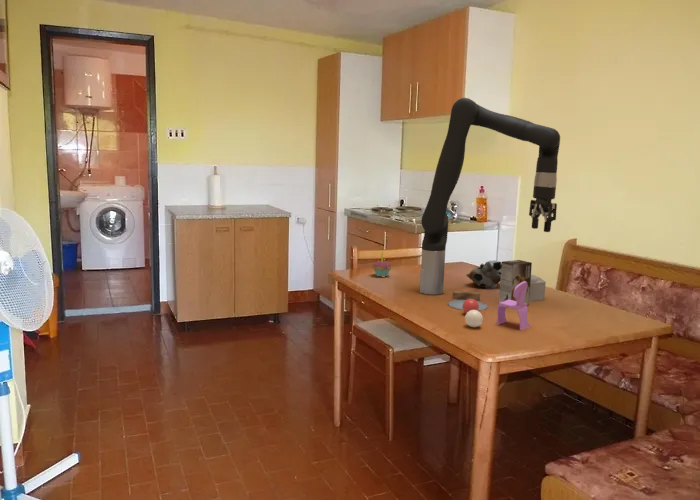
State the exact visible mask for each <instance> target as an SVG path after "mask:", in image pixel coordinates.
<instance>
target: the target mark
mask: <svg viewBox="0 0 700 500" xmlns="http://www.w3.org/2000/svg"><path fill="white" fill-rule="evenodd" d="M464 301H465V300H461V299H453V300H451V301H449V302H448V303H447V305H448V306H449V307H450V308H452V309H455V310H460V311H463V308H462V306H463V303H464ZM476 301H477V303H478V305H479V309H478V311H479V312H480V311H483V310H486V309H488V304H486V303H484V302H481V301H479V300H476Z"/></svg>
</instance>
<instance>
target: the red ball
mask: <svg viewBox="0 0 700 500" xmlns="http://www.w3.org/2000/svg"><path fill="white" fill-rule="evenodd" d="M477 301H478V300H474V299H467V300H465V301H464V303H463V306H462V308H463V310H462V311H463V312H464V313H465V315H466V314H467V312H468V311H470V310H477V311H478V309H479V305H478V303H477Z"/></svg>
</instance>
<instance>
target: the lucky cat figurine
mask: <svg viewBox="0 0 700 500" xmlns="http://www.w3.org/2000/svg"><path fill="white" fill-rule="evenodd" d="M501 264H502V261H499V260H495V259H494V260H489V261H486V262H485V263H481V264H480V266H479V267H476V268H474V269H472V270H471V271H470V272H469V273H468V274H466V277H468V278H469V279H470V280H471V281H472V282H473V283H474V284H475V285H476V286H479V287H482V288H483V289H484V290H491V289H496V288H497V286H498V283H500V280H501Z"/></svg>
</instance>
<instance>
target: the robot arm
mask: <svg viewBox="0 0 700 500" xmlns="http://www.w3.org/2000/svg"><path fill="white" fill-rule="evenodd" d="M451 107H452V108H451V111H450V118H449V123H448V128H447V134H446V137H445V140H444V142H443V146H442V148H441V151H440V155H439V157H438V161H437V164H436V169H435V172H434V176H433V182H432V185H431V186H432V187H431V191H430V195H429V199H428V201H427V202H426V203H427V204H426V205H425V206H426V207H425V209H424V212H423V213H422V216H421V226H422V228H423V230H424V232H423V233H424V234H423V239H422V242H421V258H420V259H421V261H420V280H419V294H425V295H442V294H443V293H444V287H445V286H444V283H445V281H444V280H445V264H446V246H447V242H448V233H449V217H448V214H447V209H448V203H449V202H450V201H449V200H450V198H451V196H452V194H453V192H454V190H455V188H456V185H457V184H458V181H459V178H460V176H461V173H462V170H463V165H464V162H465V160H464V159H465V155H466V154H465V153H466V143H467V137H468V134H469V131H470V128H471V126H476V127H477V126H478V127H482V128H486V129H490V130H493V131H495V132H497V133H500V134H502V135H505V136H507V137H510V138H513V139H517V140H519V141H523V142H529V143H531V144H533V145H535V146H538V157H537V159H536V166H535V168H536V169H535V175H534V181H533V191H532V197H533V199H531V200H530V203H529V211H528V216H529V217H531V218H532V220H531V229H534V230H535V229H539V221H540V219H539V218H540V216H541V215H542V217H543V218H544V223H543V224H544V225H543V232H544V233H551V229H552V222H553V221H556V220H557V209H558V208H557V207H558V205H557V204H558V203H555V202H554V203H553V202H552V200H555V199H556V190H557V182H558V181H557V178H558V177H557V176H558V175H557V174H558V173H557V172H558V157H559V156H558V155H559V150H560V144H561V143H560V142H561V135H560V132H559V131H558V130H556V128H552V127H549V126H545V125H541V124H537V123H533V122H532V121H529V120H526V119H524V118H520V117H516V116H513V115H508V114H504V113H499V112H495V111H493V110H490V109H488V108H485V107H483V106H481V105H480V104H477V103H476V101H474V100H473V99H470V98H469V97H461V98H459V99H457V100H455V102H454V103H453V105H452V106H451Z"/></svg>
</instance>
